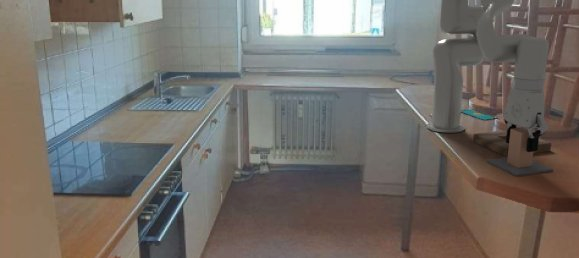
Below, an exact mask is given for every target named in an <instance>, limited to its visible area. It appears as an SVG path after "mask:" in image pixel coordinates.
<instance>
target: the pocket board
mask: <svg viewBox="0 0 579 258" xmlns="http://www.w3.org/2000/svg"><path fill="white" fill-rule="evenodd" d="M507 130H508V129H504V130H496V131H487V132H478V133H473V138H472V142H474V143H476V144H477V145H480V146H482V147H485V148H487V149H489V150H491V151H493V152H495V153H498V154H499V155H502V156H503V157H508V149H509V143H506V136H507ZM551 147H552V142H549V141H547V140H545V139H542V138H541V137H540V138H539V142H538V150H537V151H534V152H533V154H536V153H544V152H550V151H551V149H552V148H551Z"/></svg>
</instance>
